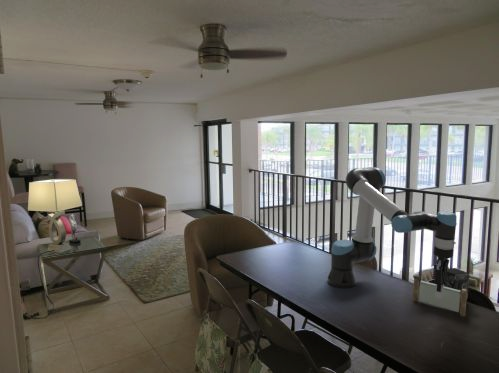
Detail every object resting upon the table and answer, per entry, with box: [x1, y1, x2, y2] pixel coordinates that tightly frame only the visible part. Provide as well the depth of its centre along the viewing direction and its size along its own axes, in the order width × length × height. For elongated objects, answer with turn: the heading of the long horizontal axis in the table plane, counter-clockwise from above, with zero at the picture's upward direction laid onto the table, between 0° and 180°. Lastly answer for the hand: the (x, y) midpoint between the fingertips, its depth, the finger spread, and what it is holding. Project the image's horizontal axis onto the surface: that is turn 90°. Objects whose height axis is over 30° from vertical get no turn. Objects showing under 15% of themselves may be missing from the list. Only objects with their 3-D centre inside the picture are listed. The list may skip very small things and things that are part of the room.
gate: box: [418, 280, 461, 313], centre depth 165 cm, size 17×2×10 cm, turn 46°
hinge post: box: [412, 274, 421, 303], centre depth 172 cm, size 3×3×13 cm
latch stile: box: [459, 289, 468, 317], centre depth 158 cm, size 2×2×12 cm
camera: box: [444, 267, 471, 303], centre depth 172 cm, size 10×10×15 cm
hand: (438, 297), depth 157 cm, fingers closed
